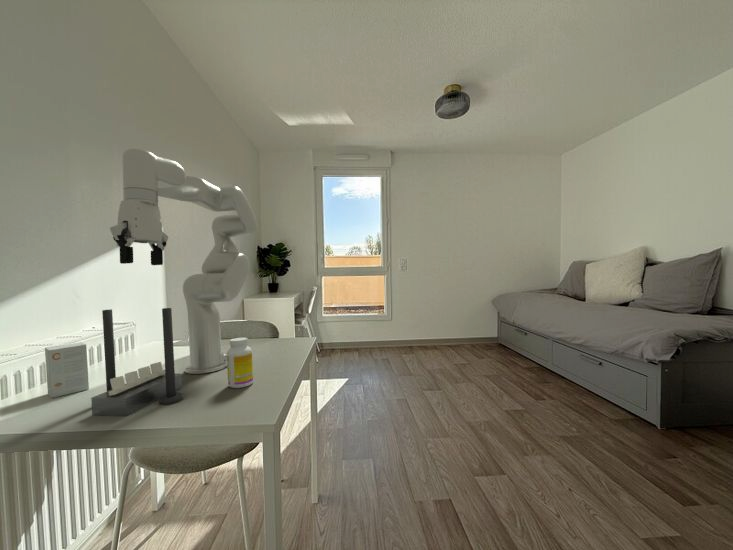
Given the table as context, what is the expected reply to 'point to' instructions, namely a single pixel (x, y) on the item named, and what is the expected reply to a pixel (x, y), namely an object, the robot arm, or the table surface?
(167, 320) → the cable upright
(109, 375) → the cable upright
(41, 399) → the table surface
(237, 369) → the supplement bottle
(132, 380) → the breaker paddles
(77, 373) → the small box
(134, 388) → the breaker panel
